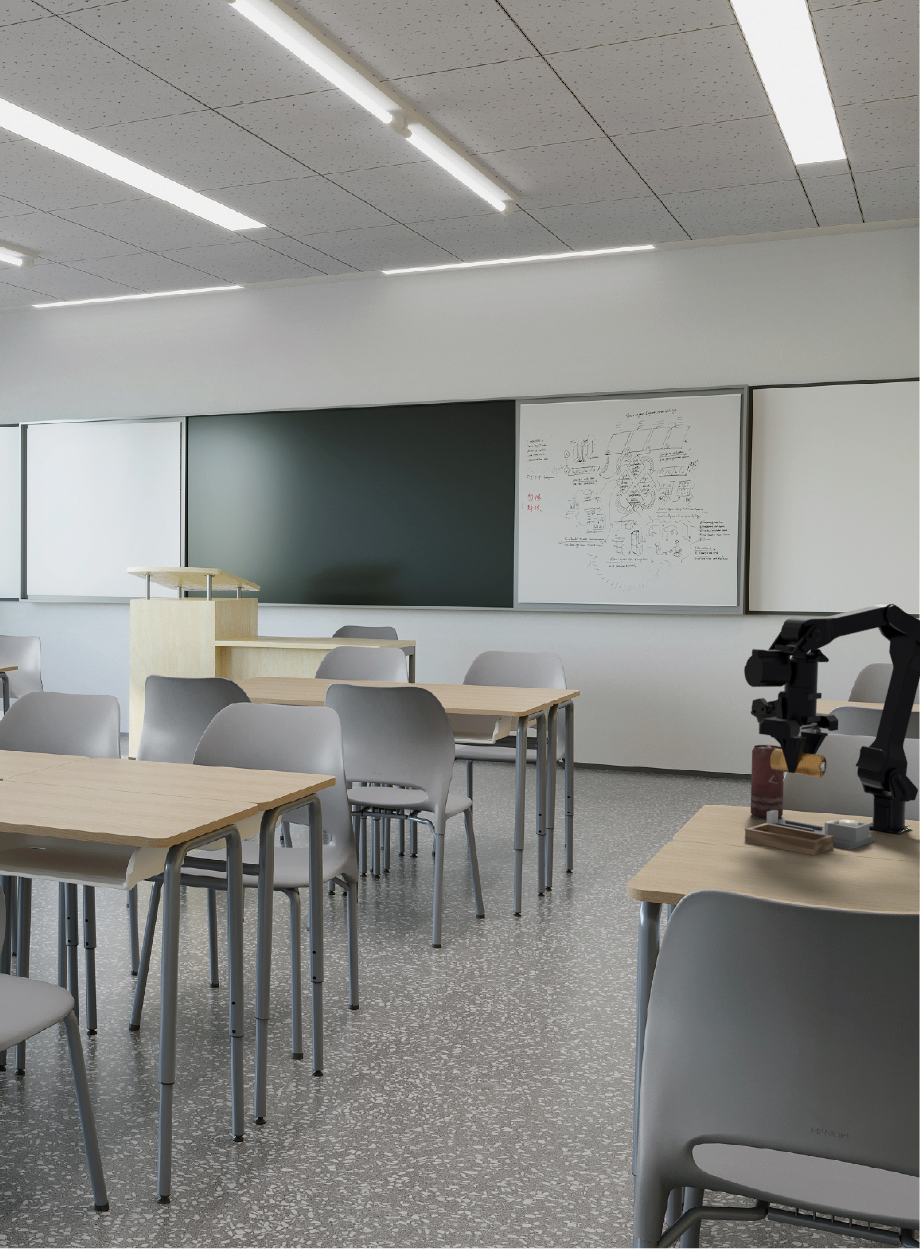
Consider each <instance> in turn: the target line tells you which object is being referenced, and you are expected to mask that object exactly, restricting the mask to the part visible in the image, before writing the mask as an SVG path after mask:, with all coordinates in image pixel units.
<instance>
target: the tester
mask: <svg viewBox="0 0 920 1249" xmlns="http://www.w3.org/2000/svg"><path fill="white" fill-rule="evenodd" d="M839 820H846V819H844V818H839V819H837V820H828V821H825V822H824V826H820V825H817V824H810V823H806V822H800V821H795V820H791V819H784V818H780V819H778V811H777V810H771V811H768V812H767V819H766V823H769V824H774V825H779V826H784V827H790V828H795V829H800V830H805V831H810V832H815V833H821V834H826V835H831V836H834V839H833V848H840V849H843V850H844V849H845V850H849V851H851V850H854V849H857V848H860V847H863V846H866V845H869V844H871V843H873V842H875V841H874V835H871V834H870V828H869V824H870V823H868V822H867V823H866V822H860V821H857V822H858V826H857V827H851V826H845V825H840V824H839Z"/></svg>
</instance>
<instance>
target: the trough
mask: <svg viewBox="0 0 920 1249" xmlns="http://www.w3.org/2000/svg"><path fill="white" fill-rule="evenodd" d="M744 832H745V834H744V841H745V842H747V843H753V844H757V845H762V846H767V847H771V848H776V849H781V850H786V851H791V852H795V853H801V854H805V855H809V856H816V855H818V854H821V853H825V852H827V851H829V850H832V849H834V846H833V839H834V836H831V835H826V834H821V833H815V832H810V831H805V830H800V829H795V828H790V827H784V826H779V825H774V824H769V823H767V822H765V823H762V824H761V823H760V824H758V825H754V826H750V827H747V828H745V830H744Z"/></svg>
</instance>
